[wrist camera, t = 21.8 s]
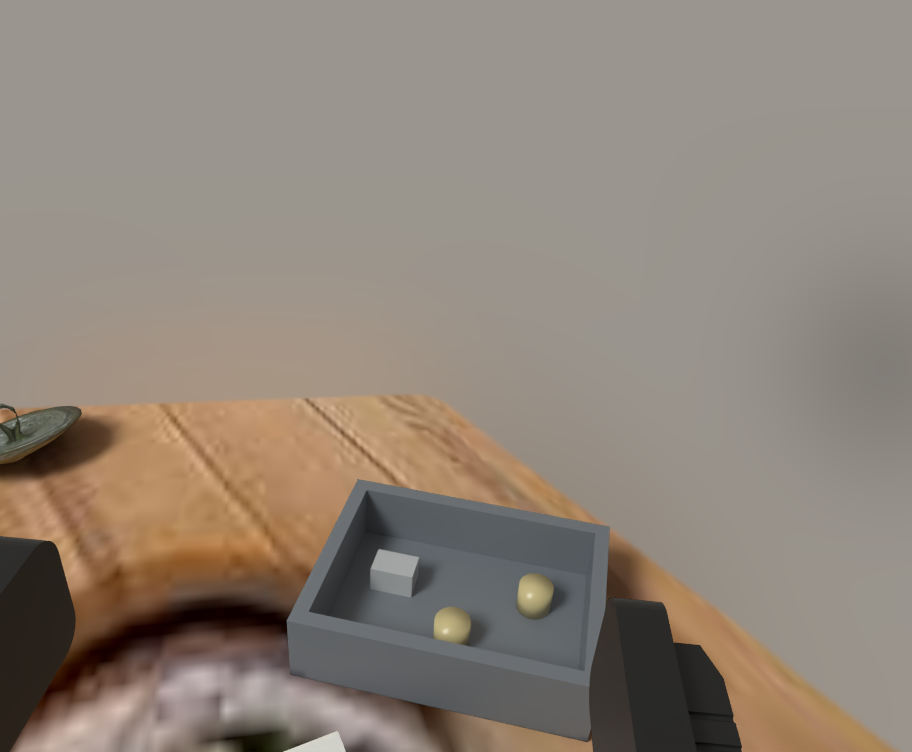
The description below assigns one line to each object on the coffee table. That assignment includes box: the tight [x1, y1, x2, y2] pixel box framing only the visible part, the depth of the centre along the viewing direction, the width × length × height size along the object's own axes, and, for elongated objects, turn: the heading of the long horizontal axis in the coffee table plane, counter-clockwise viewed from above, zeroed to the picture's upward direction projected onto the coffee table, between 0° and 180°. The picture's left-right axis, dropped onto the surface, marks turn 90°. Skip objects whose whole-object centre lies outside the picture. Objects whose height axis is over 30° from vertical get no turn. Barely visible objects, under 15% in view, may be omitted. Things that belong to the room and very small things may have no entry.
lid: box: [0, 404, 82, 464], centre depth 65 cm, size 11×10×5 cm
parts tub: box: [287, 479, 610, 742], centre depth 53 cm, size 19×14×5 cm
